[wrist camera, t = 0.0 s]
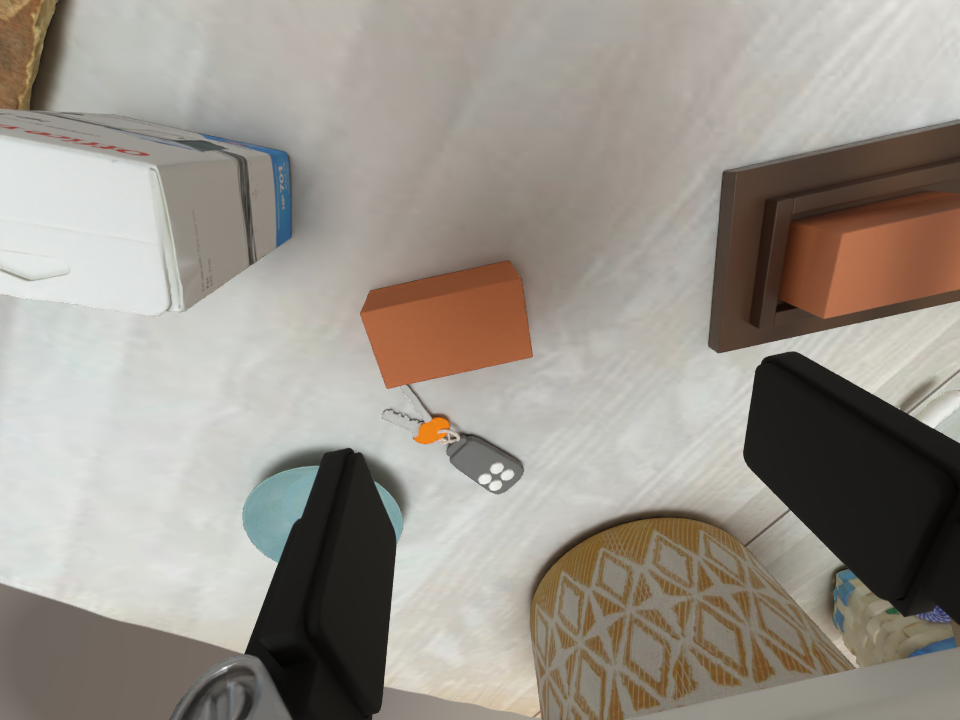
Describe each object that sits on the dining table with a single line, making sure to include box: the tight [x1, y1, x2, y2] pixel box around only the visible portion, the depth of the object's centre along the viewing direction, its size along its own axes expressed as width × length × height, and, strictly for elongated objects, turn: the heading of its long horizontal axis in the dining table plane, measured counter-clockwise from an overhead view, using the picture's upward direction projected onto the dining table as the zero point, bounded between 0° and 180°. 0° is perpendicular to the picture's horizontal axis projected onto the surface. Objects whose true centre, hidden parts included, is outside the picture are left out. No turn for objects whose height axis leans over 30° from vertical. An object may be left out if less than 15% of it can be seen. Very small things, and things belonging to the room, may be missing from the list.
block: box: [360, 261, 533, 389], centre depth 25 cm, size 9×5×4 cm, turn 101°
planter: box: [530, 518, 856, 720], centre depth 33 cm, size 26×26×22 cm
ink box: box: [0, 109, 291, 316], centre depth 17 cm, size 9×5×12 cm, turn 78°
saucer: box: [242, 466, 403, 563], centre depth 32 cm, size 12×12×2 cm
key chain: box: [382, 385, 524, 494], centre depth 31 cm, size 13×4×2 cm, turn 48°
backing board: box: [709, 120, 960, 353], centre depth 25 cm, size 26×12×5 cm, turn 101°
